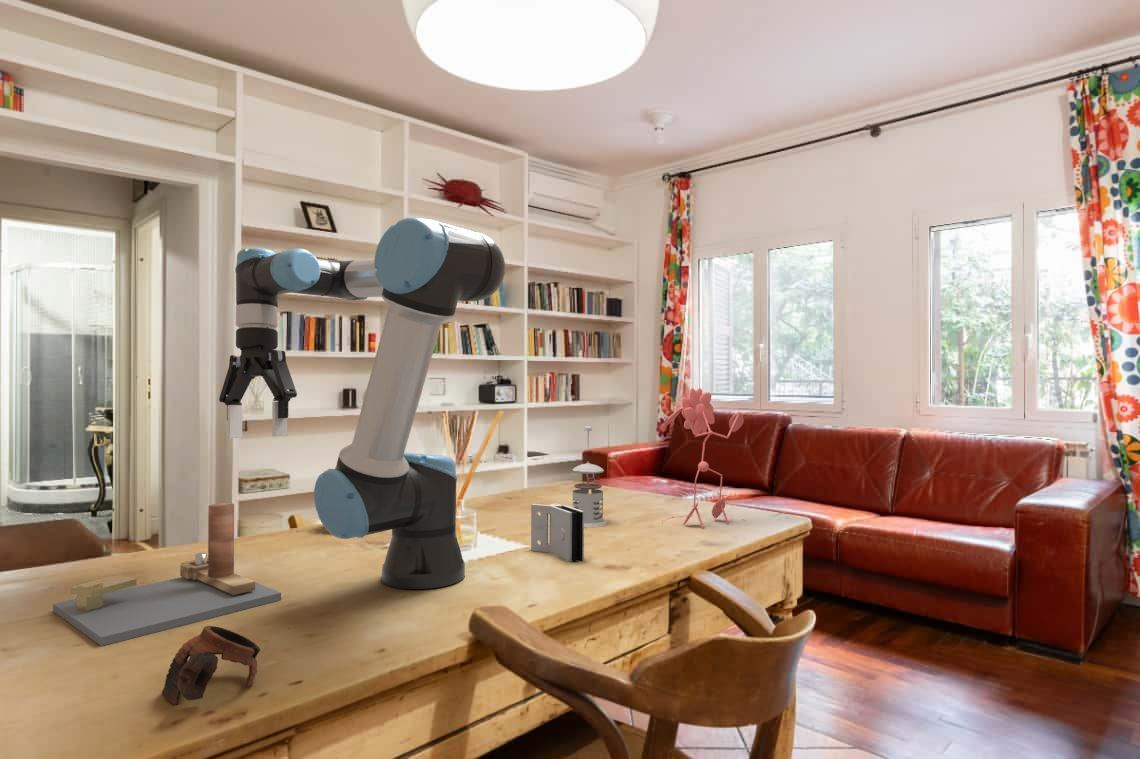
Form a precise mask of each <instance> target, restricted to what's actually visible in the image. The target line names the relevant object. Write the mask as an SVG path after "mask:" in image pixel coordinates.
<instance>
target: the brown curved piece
mask: <svg viewBox="0 0 1140 759" xmlns="http://www.w3.org/2000/svg"><path fill="white" fill-rule="evenodd" d="M260 652H261V648H260V646H259V645H257V644H256V643H255V642H254V641H252V640H250V639H249V638H247V637H245V636H243V635H241V634H239V633H236V632H234V631H232V630H229V629H226V628H223V627H221V626H214V625H213V626H212V625H206V626H203V628H202V631H201V633H200V634H199V635H196V636H193V638H190V639H188V640H187V641H186V642H185V643H183V644H182V646H181V647H180V648H179V649H178V651H177V652H176V653H175V655H174V658H172V662H171V663H170V665H169V666H170V667H169V668H168V669H167V670H168V672H167V674H166V678H165V683H164V685H163V688H162V691H161V692H162V693H161V694H162V696H163V698H164V699H165V701H167V702H169V703H170V704H172V705H174V706H177V705H178V704H179V702H180V696H182V697H183V698H184V699H185V700H187V701H195V700H200V699H202V698H203V695H204V693H205V691H206V689H207V686H208V684H209V681H210V680H211V679H212V678H213V675H214V674H215V673H216V671H217V668H218V663H219V658H218V656H217V655H221V658H220V659H221V660H223V661H229V662H231V663H234V664H235V663H236V664H237V663H239V664H241V665H243V666H248V676H247V679H246V681H245V685H246V687H248V688H249V687H251V686H252V685H253V683H254V680H255V679H256V675H257V672H258V669H257V668H258V662H257V658H256V657H257V656H258V655H259V653H260Z"/></svg>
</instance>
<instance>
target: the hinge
mask: <svg viewBox="0 0 1140 759" xmlns="http://www.w3.org/2000/svg"><path fill="white" fill-rule="evenodd" d="M573 507H574V506H569V505H566V504H565V505H563V504H561V503H551V504H539V503H532V504H531V506H530V508H531V509H530V514H531V515H530V551H531V552H539V553H540V552H541V553H549V554H550V553H551V554H552V555H554V556H556V557H559V558H561V559H563V560H565V561H567V562H569V563H570V562H571V563H572V562H573V563H577V562H583V561H584V560H585V542H584V541H585V527H584V511H582V510H579V509H576V508H573ZM539 513H540V515H538V514H539ZM538 541H539V542H540V543H538Z"/></svg>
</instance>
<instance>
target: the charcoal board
mask: <svg viewBox="0 0 1140 759" xmlns="http://www.w3.org/2000/svg"><path fill="white" fill-rule="evenodd" d="M281 600H282V592H280V591H278V590H276V589H273V588H270V587H268V586H265V585H263V584H260V583H257V582H255V590H253V591H249V592H244V593H240V594H236V595H232V594H230V593H228V592H225V591H223V590H221V589H218V588H216V587H214V586H212V585H209V584H207V583H205V582H202V581H200V580H198V579H197V580H194V579H192V578H191V579H186V578H184V577H181V576H180V577H176V578H172V579H167V580H163V581H161V580H160V581H157V582H151V583H148V584H147V583H146V584H143V585H142V584H141V585H138V586H137V585H136V586H132V587H128V588H124V589H121V590H117V591H113V592H110V593H106V594H103V607H102V608H98V609H95V610H92V611H88V612H84V611H80V610H77V598H75V599H69V600H65V601H60V602H59V601H58V602H55V603H53V604H52V610H53V611H52V612H53V613H54V614H56V615H58V617H60V616H61V617H60V618H61V619H65V620H64V621H66V622H67V621H68V624H70V625H71V626H73V627H74V628H75V629H77V630H79V632H81V633H82V634H83V635H85V636H87V637H88V638H90V639H91V640H92V641H93V642H95V643H96V644H98V645H99V646H101V647H103V646H107V645H111V644H112V645H113V644H115V643H118V642H122V641H123V642H124V641H127V640H130V639H134V638H138V637H142V636H146V635H150V634H153V633H157V632H161V631H165V630H170V629H173V628H176V627H182V626H184V625H185V626H186V625H189V624H193V623H196V622H200V621H204V620H209V619H212V618H216V617H220V616H223V615H228V614H231V613H232V614H233V613H235V612H239V611H243V610H246V609H251V608H255V607H258V606H262V605H263V606H264V605H267V604H271V603H276V602H278V601H281Z"/></svg>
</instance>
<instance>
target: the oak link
mask: <svg viewBox="0 0 1140 759" xmlns="http://www.w3.org/2000/svg"><path fill="white" fill-rule="evenodd" d="M207 507H208V510H207V513H208V515H207V516H208V517H207V520H208V521H207V523H208V524H207V526H208V528H207V534H208V536H207V546H208V547H207V564H204V565H199V566H195V559H194V560H187V561H184V562H180V565H179V569H180V574H179V575H180V577H184V578H186V579H191V578H192V579H194V580H197V579H198V580H200V581H202V582H205V583H207V584H209V585H212V586H214V587H216V588H218V589H221V590H223V591H225V592H228V593H230V594H232V595H236V594H240V593H244V592H249V591H253V590H255V583H256V581H255V580H252V579H250V578H247V577H245V576H242V575H239V574H237V573H235V503H230V502H219V503H213V504H209V505H208V506H207Z"/></svg>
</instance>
